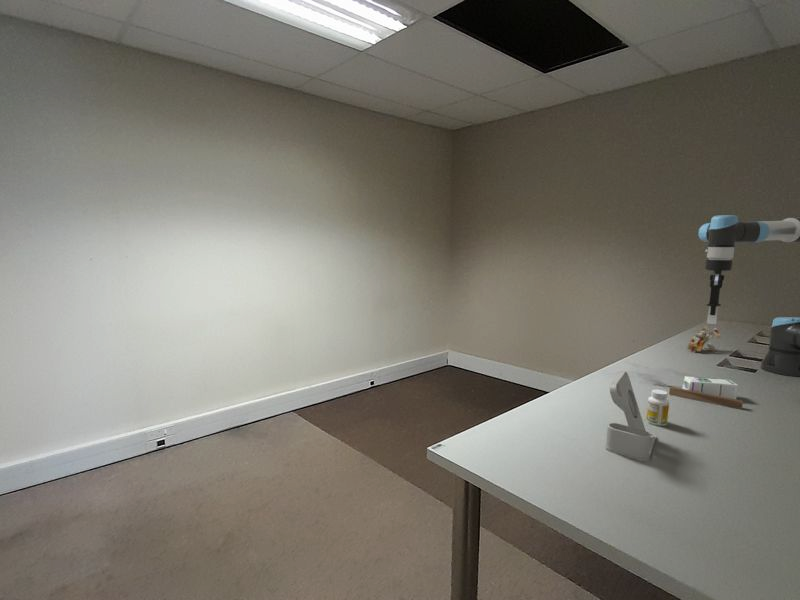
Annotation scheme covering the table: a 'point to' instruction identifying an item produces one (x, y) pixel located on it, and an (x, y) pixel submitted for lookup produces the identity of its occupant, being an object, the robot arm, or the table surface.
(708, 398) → the walnut stop rail
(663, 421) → the supplement bottle
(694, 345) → the voxel character
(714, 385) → the syrup box
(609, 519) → the table surface
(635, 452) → the phone holder
